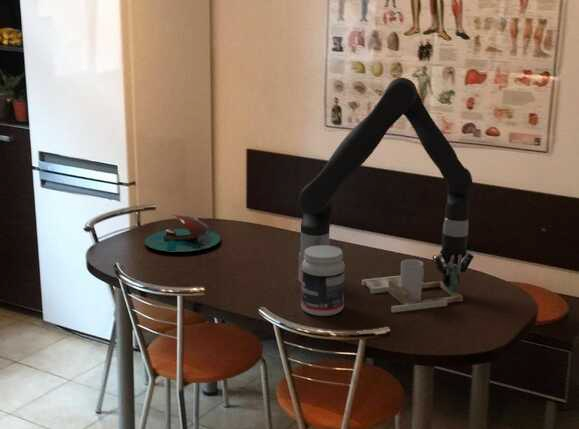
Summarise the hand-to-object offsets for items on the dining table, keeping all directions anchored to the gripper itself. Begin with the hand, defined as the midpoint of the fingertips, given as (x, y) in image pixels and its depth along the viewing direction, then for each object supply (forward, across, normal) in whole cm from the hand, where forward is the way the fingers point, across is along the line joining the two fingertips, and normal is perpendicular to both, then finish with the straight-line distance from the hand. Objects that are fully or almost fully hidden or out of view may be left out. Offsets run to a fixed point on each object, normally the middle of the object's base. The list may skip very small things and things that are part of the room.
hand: (450, 284), depth 252 cm
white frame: (+3, -9, 0) cm, 10 cm away
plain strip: (+4, -14, +11) cm, 19 cm away
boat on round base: (+6, -71, +74) cm, 103 cm away
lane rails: (+3, -14, +4) cm, 15 cm away
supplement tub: (+4, -42, 0) cm, 43 cm away
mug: (+4, -12, 0) cm, 13 cm away
